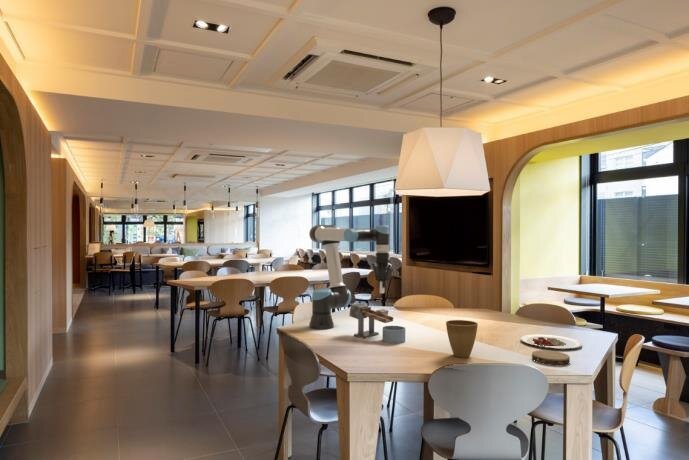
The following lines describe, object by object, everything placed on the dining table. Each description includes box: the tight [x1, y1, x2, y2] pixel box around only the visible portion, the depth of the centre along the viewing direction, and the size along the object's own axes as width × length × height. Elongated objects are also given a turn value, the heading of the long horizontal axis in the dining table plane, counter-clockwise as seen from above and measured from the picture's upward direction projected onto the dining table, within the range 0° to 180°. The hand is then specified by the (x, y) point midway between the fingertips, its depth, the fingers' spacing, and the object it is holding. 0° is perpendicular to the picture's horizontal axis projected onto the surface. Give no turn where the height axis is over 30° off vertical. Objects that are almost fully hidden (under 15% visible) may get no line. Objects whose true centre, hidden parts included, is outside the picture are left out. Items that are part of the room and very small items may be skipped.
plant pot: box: [445, 319, 479, 359], centre depth 219 cm, size 15×15×16 cm
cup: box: [382, 325, 406, 345], centre depth 247 cm, size 12×12×7 cm
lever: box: [348, 302, 394, 324], centre depth 260 cm, size 25×14×7 cm, turn 50°
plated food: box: [520, 333, 583, 350], centre depth 244 cm, size 30×30×3 cm
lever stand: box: [353, 313, 380, 339], centre depth 260 cm, size 8×13×14 cm, turn 140°
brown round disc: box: [531, 349, 571, 366], centre depth 211 cm, size 16×16×3 cm
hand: (382, 293), depth 261 cm, fingers closed
